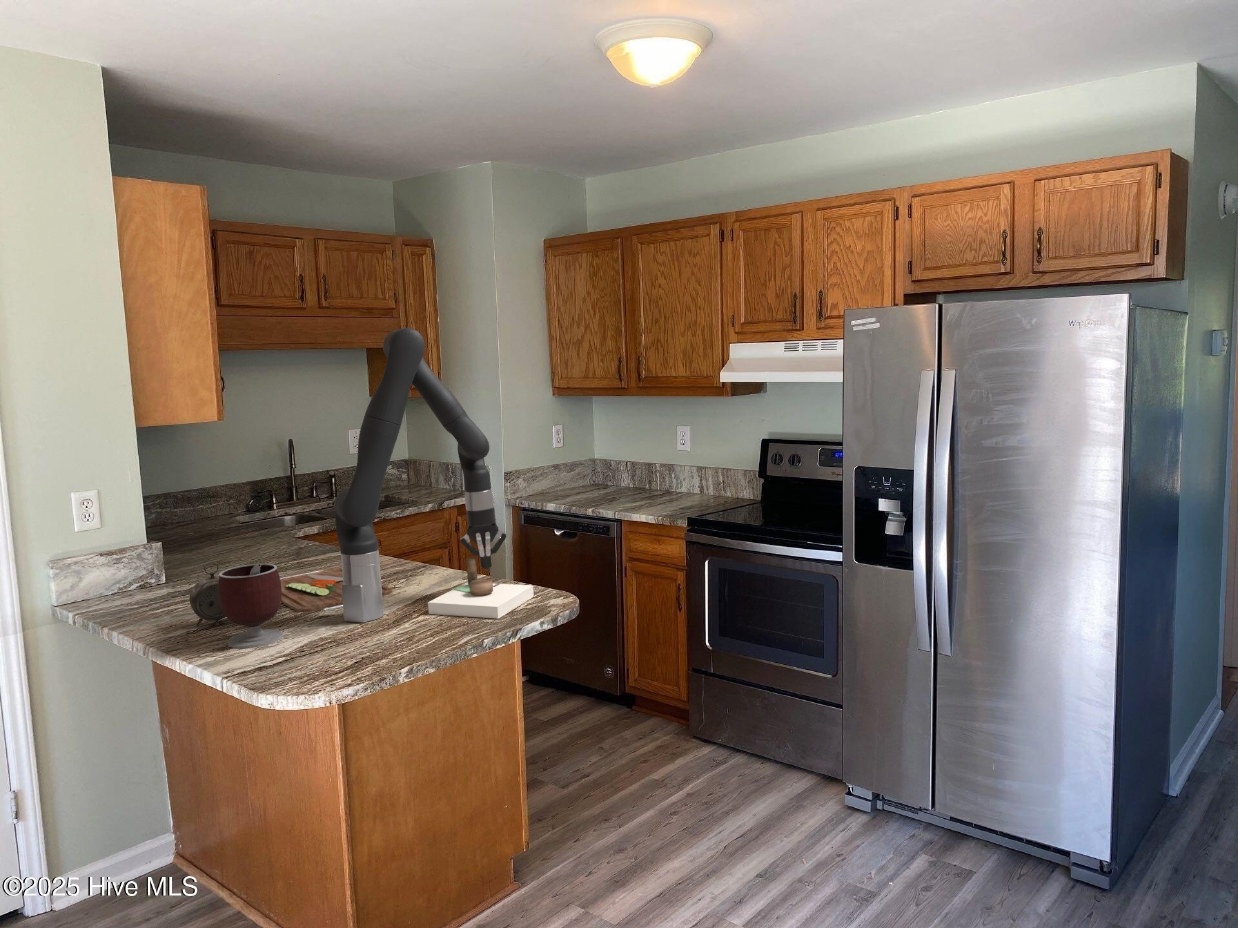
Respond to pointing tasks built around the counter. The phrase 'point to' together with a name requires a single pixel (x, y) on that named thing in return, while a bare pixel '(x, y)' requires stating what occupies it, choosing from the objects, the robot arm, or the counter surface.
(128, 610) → the counter surface
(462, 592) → the white square slab
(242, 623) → the mate gourd
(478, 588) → the crank handle
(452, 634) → the counter surface
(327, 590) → the chopping board
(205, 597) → the alarm clock
